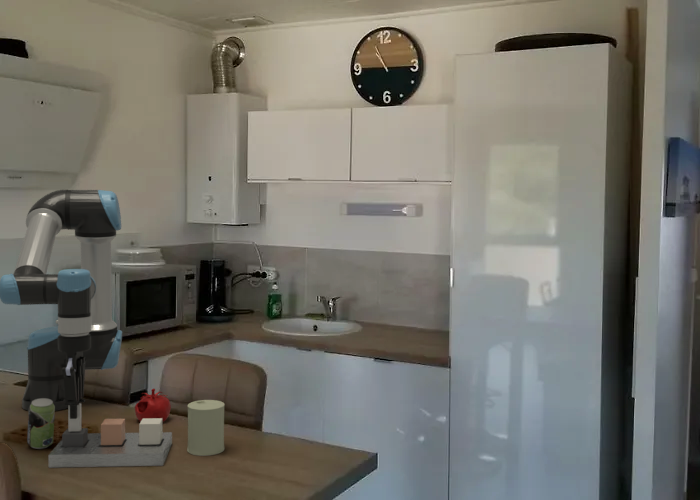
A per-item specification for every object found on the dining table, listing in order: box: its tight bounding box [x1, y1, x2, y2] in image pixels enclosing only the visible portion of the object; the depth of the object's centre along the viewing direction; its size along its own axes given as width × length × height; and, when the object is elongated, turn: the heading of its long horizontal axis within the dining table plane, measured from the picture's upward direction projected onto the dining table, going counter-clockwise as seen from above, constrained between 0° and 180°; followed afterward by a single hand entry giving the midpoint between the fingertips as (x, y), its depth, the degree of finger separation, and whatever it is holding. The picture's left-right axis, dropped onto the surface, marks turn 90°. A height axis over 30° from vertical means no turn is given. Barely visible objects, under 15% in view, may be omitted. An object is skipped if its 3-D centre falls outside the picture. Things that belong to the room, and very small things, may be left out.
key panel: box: [48, 431, 173, 469], centre depth 186 cm, size 16×26×3 cm, turn 96°
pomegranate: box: [134, 388, 172, 423], centre depth 215 cm, size 10×10×9 cm
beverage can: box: [26, 398, 56, 450], centre depth 191 cm, size 6×7×12 cm
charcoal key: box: [61, 427, 89, 447], centre depth 185 cm, size 5×5×5 cm
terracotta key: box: [100, 418, 126, 445], centre depth 186 cm, size 5×5×5 cm
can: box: [186, 399, 226, 457], centre depth 191 cm, size 9×9×12 cm
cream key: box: [138, 418, 163, 445], centre depth 187 cm, size 5×5×5 cm
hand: (75, 430), depth 185 cm, fingers closed
